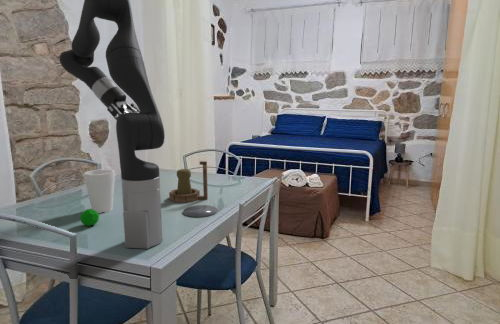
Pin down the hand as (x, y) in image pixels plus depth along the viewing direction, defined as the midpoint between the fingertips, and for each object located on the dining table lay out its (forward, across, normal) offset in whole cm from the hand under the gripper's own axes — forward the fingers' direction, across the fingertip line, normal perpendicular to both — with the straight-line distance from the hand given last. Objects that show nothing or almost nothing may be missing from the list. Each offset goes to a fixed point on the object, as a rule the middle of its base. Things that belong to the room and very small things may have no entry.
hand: (140, 127), depth 125 cm
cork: (+28, +8, +11) cm, 31 cm away
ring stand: (+29, +8, +9) cm, 31 cm away
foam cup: (+12, -11, +26) cm, 31 cm away
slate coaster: (+35, -6, +2) cm, 36 cm away
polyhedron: (+16, -25, +22) cm, 37 cm away
